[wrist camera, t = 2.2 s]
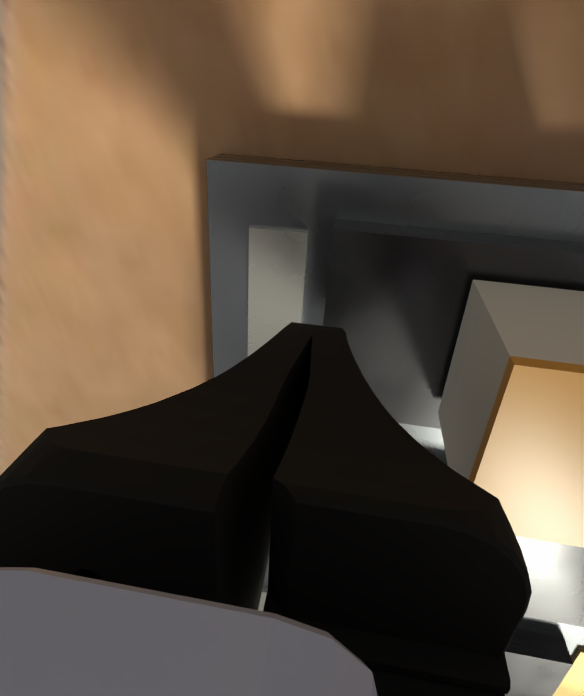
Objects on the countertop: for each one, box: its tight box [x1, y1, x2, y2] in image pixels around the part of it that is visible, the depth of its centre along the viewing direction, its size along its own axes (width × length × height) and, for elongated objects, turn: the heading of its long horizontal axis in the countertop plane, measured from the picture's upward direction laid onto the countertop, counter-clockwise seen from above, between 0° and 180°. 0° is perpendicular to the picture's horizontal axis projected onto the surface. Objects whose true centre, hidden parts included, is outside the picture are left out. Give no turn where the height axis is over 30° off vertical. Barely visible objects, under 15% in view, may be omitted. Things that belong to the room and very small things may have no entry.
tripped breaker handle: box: [438, 280, 584, 548], centre depth 10 cm, size 3×4×4 cm
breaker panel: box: [206, 154, 584, 696], centre depth 15 cm, size 18×24×6 cm
